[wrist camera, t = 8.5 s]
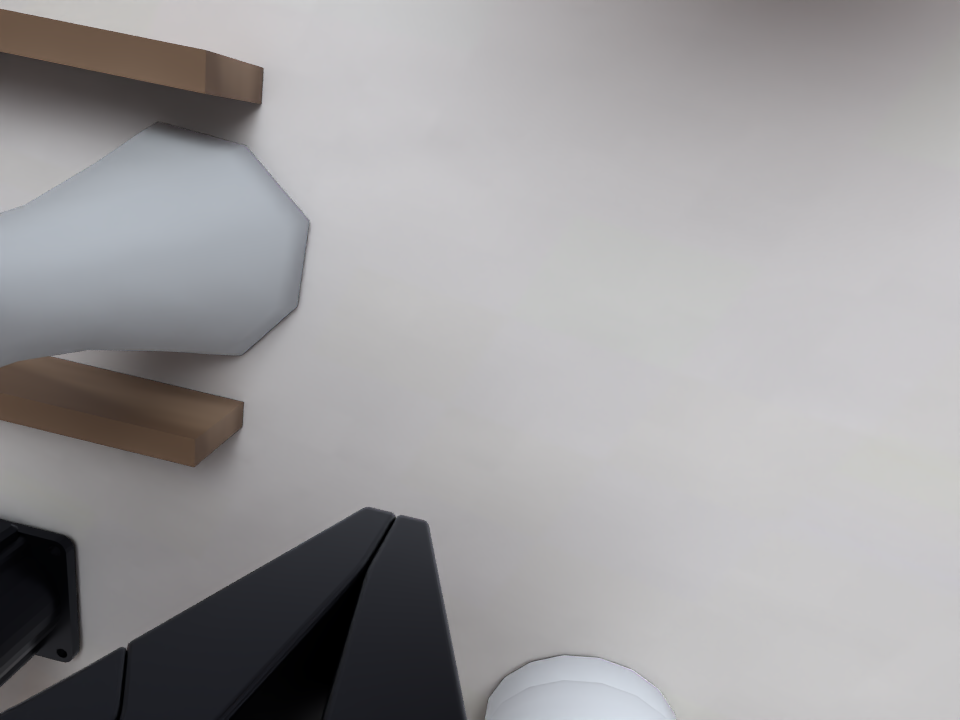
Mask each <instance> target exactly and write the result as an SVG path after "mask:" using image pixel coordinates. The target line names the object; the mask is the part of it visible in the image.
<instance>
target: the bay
mask: <svg viewBox="0 0 960 720" xmlns="http://www.w3.org/2000/svg"><path fill="white" fill-rule="evenodd" d="M0 52H4V53H9V54H14V55H19V56H24V57H29V58H34V59H38V60H43V61H48V62H53V63H58V64H63V65H68V66H72V67H77V68H82V69H87V70H92V71H97V72H102V73H106V74H111V75H116V76H121V77H126V78H131V79H136V80H140V81H145V82H150V83H155V84H160V85H165V86H170V87H174V88H179V89H184V90H189V91H194V92H199V93H204V94H209V95H214V96H220V97H225V98H230V99H236V100H241V101H247V102H252V103H258V104H261V99H262V82H263V68H262V67H259V66H255V65H252V64H249V63H246V62H242V61H239V60H236V59H233V58H229V57H226V56H223V55H220V54H216V53H213V52H210V51H207V50H202V49H197V48H192V47H187V46H182V45H177V44H172V43H167V42H162V41H157V40H152V39H147V38H143V37H138V36H133V35H128V34H123V33H118V32H113V31H108V30H103V29H98V28H93V27H88V26H83V25H78V24H73V23H68V22H63V21H58V20H53V19H48V18H43V17H38V16H33V15H28V14H23V13H18V12H14V11H9V10H4V9H0ZM243 406H244V402H241V401H237V400H232V399H228V398H224V397H220V396H215V395H211V394H207V393H203V392H199V391H194V390H190V389H186V388H182V387H177V386H173V385H169V384H165V383H160V382H156V381H152V380H148V379H144V378H139V377H135V376H131V375H127V374H122V373H118V372H114V371H110V370H105V369H101V368H97V367H93V366H89V365H84V364H80V363H76V362H72V361H67V360H63V359H59V358H55V357H50V356H47V357H41V358H35V359H28V360H22V361H17V362H14V363H11V364H8V365H6V366H3V367H0V420H3V421H7V422H11V423H15V424H19V425H23V426H28V427H32V428H36V429H40V430H44V431H48V432H52V433H56V434H60V435H64V436H68V437H73V438H77V439H81V440H85V441H89V442H93V443H97V444H101V445H105V446H109V447H114V448H118V449H122V450H126V451H130V452H134V453H138V454H142V455H146V456H150V457H154V458H159V459H163V460H167V461H171V462H175V463H179V464H183V465H187V466H191V467H195V466H196V465H198V464H199V463H200V462H201V461H202V460H203V459H205V458H206V457H207V456H208V455H209V454H211V453H212V452H213V451H214V450H215V449H216V448H218V447H219V446H220V445H221V444H222V443H224V442H225V441H226V440H227V439H228V438H230V437H231V436H232V435H233V434H234V433H235V432H237V431H238V430H239V429H240V428H241V427H242V423H243Z"/></svg>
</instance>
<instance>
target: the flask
mask: <svg viewBox="0 0 960 720" xmlns="http://www.w3.org/2000/svg"><path fill="white" fill-rule="evenodd" d="M308 227H309V219H308V218H307V217H306V216H305V215H304V213H303V212H302V211H301V210H300V209H299V208H298V206H297V205H296V204H295V203H294V202H293V200H292V199H291V198H290V197H289V196H288V195H287V193H286V192H285V191H284V190H283V189H282V187H281V186H280V185H279V184H278V183H277V182H276V180H275V179H274V178H273V177H272V176H271V174H270V173H269V172H268V171H267V170H266V168H265V167H264V166H263V165H262V164H261V163H260V161H259V160H258V159H257V158H256V157H255V155H254V154H253V153H252V152H251V151H250V150H249V148H248V147H247V146H246V145H243V144H239V143H235V142H232V141H228V140H224V139H221V138H217V137H213V136H209V135H206V134H202V133H198V132H194V131H191V130H187V129H183V128H180V127H176V126H172V125H168V124H165V123H161V122H156V123H155V124H153V125H151V126H150V127H148V128H146V129H145V130H143V131H141V132H140V133H138V134H137V135H135V136H134V137H133V138H131V139H130V140H128V141H127V142H125V143H124V144H122V145H121V146H119V147H118V148H117V149H115V150H114V151H112V152H111V153H109V154H108V155H106V156H105V157H103V158H102V159H100V160H99V161H98V162H96V163H95V164H93V165H91V166H90V167H88V168H86V169H84V170H83V171H81V172H79V173H78V174H76V175H74V176H73V177H71V178H69V179H68V180H66V181H64V182H63V183H61V184H59V185H58V186H56V187H54V188H52V189H51V190H49V191H47V192H46V193H44V194H42V195H41V196H39V197H37V198H36V199H34V200H32V201H31V202H29V203H27V204H26V205H23V206H20V207H17V208H14V209H11V210H8V211H5V212H2V213H0V367H3V366H6V365H8V364H11V363H14V362H17V361H22V360H28V359H35V358H41V357H47V356H53V355H59V354H66V353H72V352H78V351H84V350H122V351H171V352H186V353H201V354H215V355H242V354H243V353H245V352H246V351H247V350H248V349H249V348H250V347H251V346H253V345H254V344H255V343H256V342H257V341H258V340H259V339H261V338H262V337H263V336H264V335H265V334H266V333H267V332H269V331H270V330H271V329H272V328H273V327H274V326H275V325H277V324H278V323H279V322H280V321H281V320H282V319H283V318H284V317H286V316H287V315H288V314H289V313H290V312H291V311H292V310H294V309H295V308H296V307H297V305H298V298H299V291H300V284H301V277H302V269H303V262H304V255H305V248H306V241H307V234H308Z"/></svg>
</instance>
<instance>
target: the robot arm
mask: <svg viewBox="0 0 960 720" xmlns="http://www.w3.org/2000/svg"><path fill="white" fill-rule="evenodd" d="M79 649H80V647H79V629H78V612H77V594H76V576H75V558H74V546H73V543H72V542H71V540H70V539H69V538H67V537H66V536H64V535H61V534H57V533H53V532H49V531H45V530H41V529H37V528H33V527H29V526H25V525H22V524H18V523H14V522H10V521H6V520H2V519H0V687H1V686H2V685H3V684H4V683H5V682H6V681H7V680H9V679H10V678H11V677H12V676H13V675H14V674H15V673H16V672H17V671H18V670H19V669H20V668H21V667H22V666H23V665H24V664H25V663H27V662H28V661H29V660H30V659H31V658H32V657H33V656H34V655H39V656H42V657H46V658H50V659H54V660H57V661H61V662H69V661H71V660H72V659H73V658H74V657H75V656H76V655H77V654H78V652H79ZM0 720H467V716H466V711H465V706H464V701H463V696H462V691H461V686H460V681H459V676H458V671H457V666H456V661H455V656H454V651H453V646H452V641H451V635H450V630H449V625H448V620H447V615H446V610H445V605H444V600H443V595H442V590H441V585H440V580H439V575H438V570H437V565H436V560H435V554H434V549H433V544H432V539H431V534H430V529H429V525H428V523H427V522H426V521H424V520H421V519H416V518H412V517H408V516H404V515H400V516H398V517H397V518H396V517H395V515H394V513H392V512H388V511H384V510H380V509H376V508H372V507H365V508H363V509H361V510H359V511H358V512H356V513H354V514H352V515H351V516H349V517H347V518H345V519H344V520H342V521H340V522H338V523H337V524H335V525H333V526H331V527H330V528H328V529H326V530H324V531H323V532H321V533H319V534H317V535H316V536H314V537H312V538H310V539H309V540H307V541H305V542H304V543H302V544H300V545H298V546H297V547H295V548H293V549H291V550H290V551H288V552H286V553H284V554H283V555H281V556H279V557H277V558H276V559H274V560H272V561H270V562H269V563H267V564H265V565H263V566H262V567H260V568H258V569H256V570H255V571H253V572H251V573H250V574H248V575H246V576H244V577H243V578H241V579H239V580H237V581H236V582H234V583H232V584H230V585H229V586H227V587H225V588H223V589H222V590H220V591H218V592H216V593H215V594H213V595H211V596H209V597H208V598H206V599H204V600H202V601H201V602H199V603H197V604H195V605H194V606H192V607H190V608H189V609H187V610H185V611H183V612H182V613H180V614H178V615H176V616H175V617H173V618H171V619H169V620H168V621H166V622H164V623H162V624H161V625H159V626H157V627H155V628H154V629H152V630H150V631H148V632H147V633H145V634H143V635H141V636H140V637H138V638H136V639H135V640H133V641H131V642H130V643H129V644H128V647H127V650H126V648H124V647H120V648H118V649H117V650H115V651H113V652H111V653H110V654H108V655H106V656H104V657H103V658H101V659H99V660H97V661H96V662H94V663H92V664H90V665H89V666H87V667H85V668H83V669H82V670H80V671H78V672H76V673H74V674H72V675H71V676H69V677H67V678H65V679H63V680H61V681H60V682H58V683H56V684H54V685H52V686H51V687H49V688H47V689H45V690H43V691H41V692H40V693H38V694H36V695H34V696H32V697H30V698H29V699H27V700H25V701H23V702H21V703H19V704H17V705H15V706H13V707H11V708H9V709H8V710H6V711H4V712H2V713H0Z"/></svg>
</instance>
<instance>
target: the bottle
mask: <svg viewBox="0 0 960 720" xmlns="http://www.w3.org/2000/svg"><path fill="white" fill-rule="evenodd" d="M485 720H676V715H675V713H674V711H673V710H672V708H671V707H670V705H669V704H668V702H667V701H666V699H665V697H664V696H663V694H662V693H661V691H660V690H659V689H658V688H657V687H655V686H654V685H653V684H651V683H650V682H649V681H647V680H646V679H645V678H643V677H642V676H641V675H639V674H638V673H636V672H635V671H634V670H632V669H629V668H627V667H624V666H621V665H618V664H615V663H613V662H610V661H607V660H604V659H601V658H596V657H582V656H568V655H562V656H557V657H552V658H548V659H543V660H538V661H534V662H530V663H528V664H527V665H525V666H523V667H521V668H520V669H518V670H516V671H515V672H513V673H511V674H510V675H508V676H506V677H505V678H504V679H503V680H502V682H501V683H500V684H499V685H498V687H497V688H496V689H495V691H494V692H493V693H492V695H491V696H490V697H489V699H488V705H487V710H486V715H485Z"/></svg>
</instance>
